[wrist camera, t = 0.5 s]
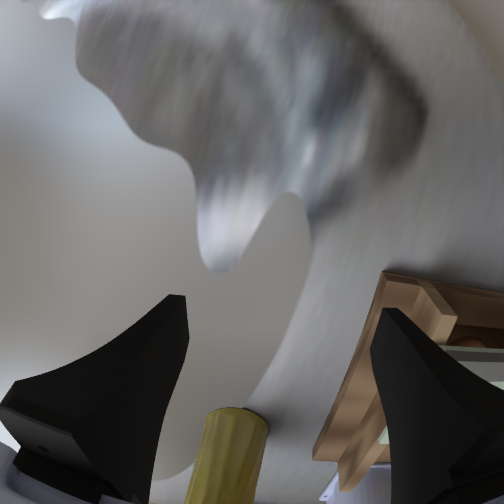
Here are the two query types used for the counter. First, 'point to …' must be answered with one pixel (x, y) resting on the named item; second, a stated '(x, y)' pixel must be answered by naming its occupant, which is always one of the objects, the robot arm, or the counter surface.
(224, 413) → the vase
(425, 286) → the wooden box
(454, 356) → the cover
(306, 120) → the counter surface
